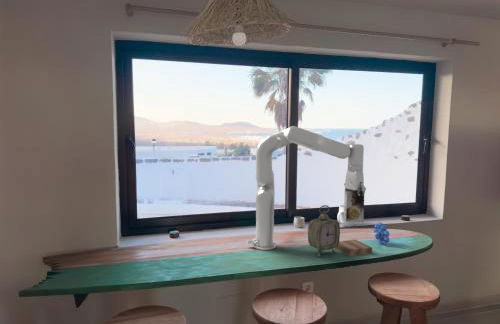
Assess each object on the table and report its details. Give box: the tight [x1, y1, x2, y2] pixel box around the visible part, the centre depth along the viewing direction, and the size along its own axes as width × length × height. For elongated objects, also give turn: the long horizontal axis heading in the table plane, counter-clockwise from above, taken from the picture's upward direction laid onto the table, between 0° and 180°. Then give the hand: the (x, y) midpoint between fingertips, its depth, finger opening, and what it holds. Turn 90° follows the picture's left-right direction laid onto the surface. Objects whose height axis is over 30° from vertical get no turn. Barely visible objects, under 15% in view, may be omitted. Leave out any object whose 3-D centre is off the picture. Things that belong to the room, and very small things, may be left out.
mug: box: [336, 204, 355, 228], centre depth 227 cm, size 15×11×13 cm
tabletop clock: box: [307, 204, 341, 258], centre depth 172 cm, size 14×9×25 cm, turn 122°
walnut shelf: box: [334, 239, 373, 257], centre depth 179 cm, size 14×14×3 cm
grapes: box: [373, 221, 390, 246], centre depth 189 cm, size 12×7×12 cm, turn 21°
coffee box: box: [343, 188, 365, 223], centre depth 177 cm, size 9×6×16 cm
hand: (354, 201), depth 177 cm, fingers closed on coffee box, 8 cm apart
